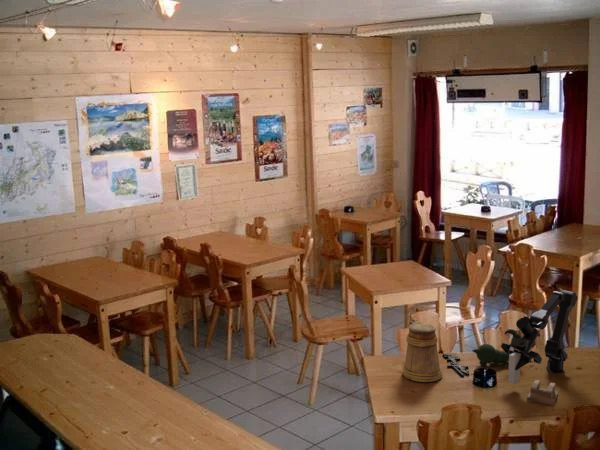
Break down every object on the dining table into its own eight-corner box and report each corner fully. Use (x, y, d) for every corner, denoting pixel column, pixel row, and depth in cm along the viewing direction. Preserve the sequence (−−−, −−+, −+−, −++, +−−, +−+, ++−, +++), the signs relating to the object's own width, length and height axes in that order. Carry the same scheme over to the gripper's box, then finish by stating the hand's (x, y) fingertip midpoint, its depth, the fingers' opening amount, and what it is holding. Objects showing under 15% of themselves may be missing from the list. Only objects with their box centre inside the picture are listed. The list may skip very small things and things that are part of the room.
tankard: (412, 385, 331) (413, 334, 326) (393, 366, 354) (393, 318, 349) (448, 380, 336) (449, 330, 331) (426, 362, 358) (427, 314, 353)
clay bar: (514, 379, 327) (515, 352, 324) (519, 381, 325) (520, 354, 322) (508, 381, 324) (509, 354, 322) (513, 384, 322) (514, 356, 319)
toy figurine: (511, 361, 361) (465, 362, 355) (516, 326, 358) (470, 326, 352) (521, 369, 352) (474, 370, 346) (526, 332, 349) (479, 332, 343)
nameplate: (435, 354, 365) (453, 352, 367) (435, 357, 366) (453, 355, 367) (457, 375, 339) (477, 373, 341) (457, 378, 339) (477, 376, 341)
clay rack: (532, 389, 325) (533, 378, 324) (557, 394, 319) (558, 383, 318) (527, 400, 314) (527, 388, 313) (553, 405, 309) (553, 393, 308)
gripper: (503, 325, 329) (488, 354, 325) (539, 336, 315) (523, 366, 311) (513, 337, 336) (498, 365, 331) (548, 348, 321) (533, 378, 317)
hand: (512, 368), depth 322 cm, fingers closed on clay bar, 3 cm apart
